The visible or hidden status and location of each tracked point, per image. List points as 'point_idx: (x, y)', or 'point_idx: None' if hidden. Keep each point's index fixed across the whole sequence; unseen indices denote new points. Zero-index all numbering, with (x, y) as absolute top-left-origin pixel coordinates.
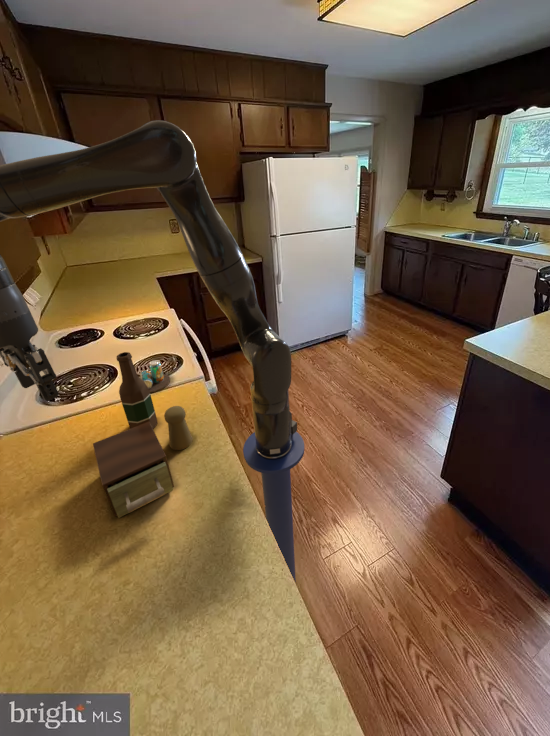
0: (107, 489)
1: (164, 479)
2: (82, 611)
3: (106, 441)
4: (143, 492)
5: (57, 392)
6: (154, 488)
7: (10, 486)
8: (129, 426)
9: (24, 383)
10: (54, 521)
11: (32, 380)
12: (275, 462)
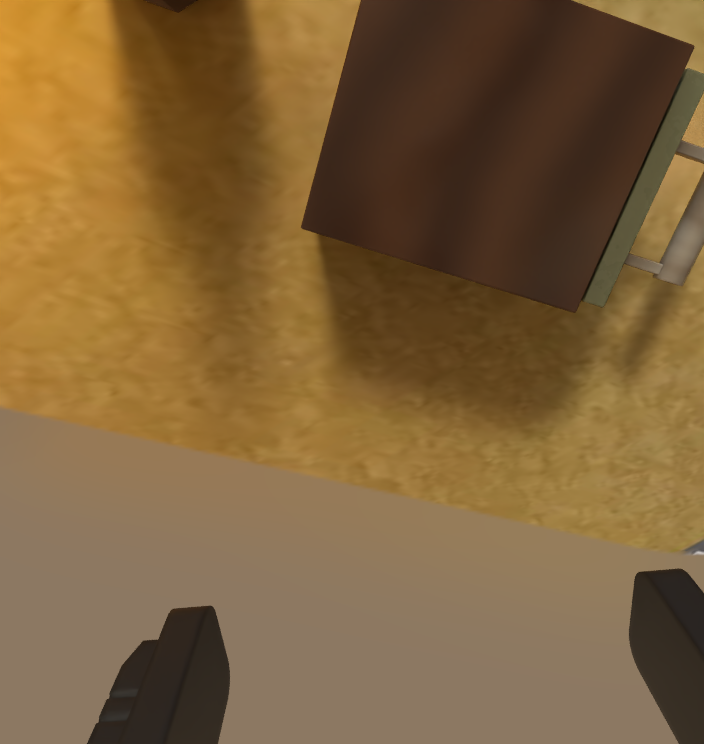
0: (586, 302)
1: None
2: (677, 436)
3: (342, 181)
4: None
5: (695, 588)
6: None
7: (125, 425)
8: (163, 1)
9: (218, 716)
10: (379, 391)
11: (203, 654)
12: None
